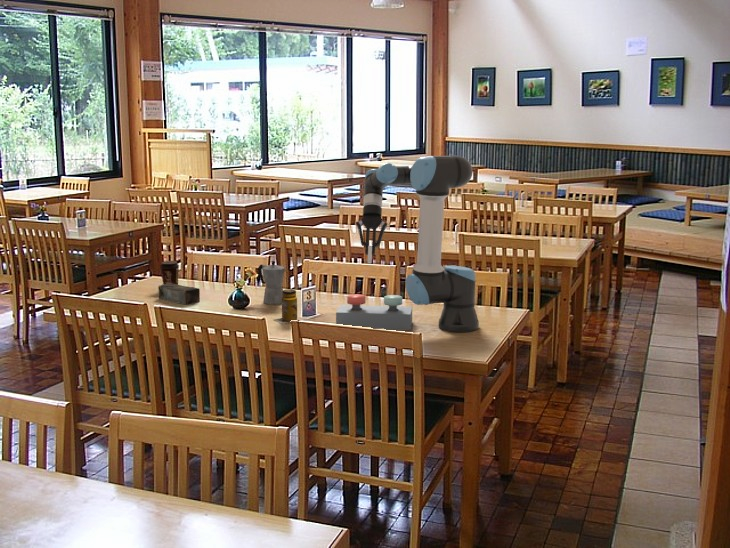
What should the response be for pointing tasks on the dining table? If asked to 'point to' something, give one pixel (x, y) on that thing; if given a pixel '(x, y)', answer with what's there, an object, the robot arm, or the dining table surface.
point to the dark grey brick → (179, 293)
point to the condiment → (288, 306)
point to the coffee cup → (169, 272)
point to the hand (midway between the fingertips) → (369, 262)
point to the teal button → (393, 301)
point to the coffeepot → (272, 282)
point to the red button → (356, 300)
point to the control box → (375, 317)
